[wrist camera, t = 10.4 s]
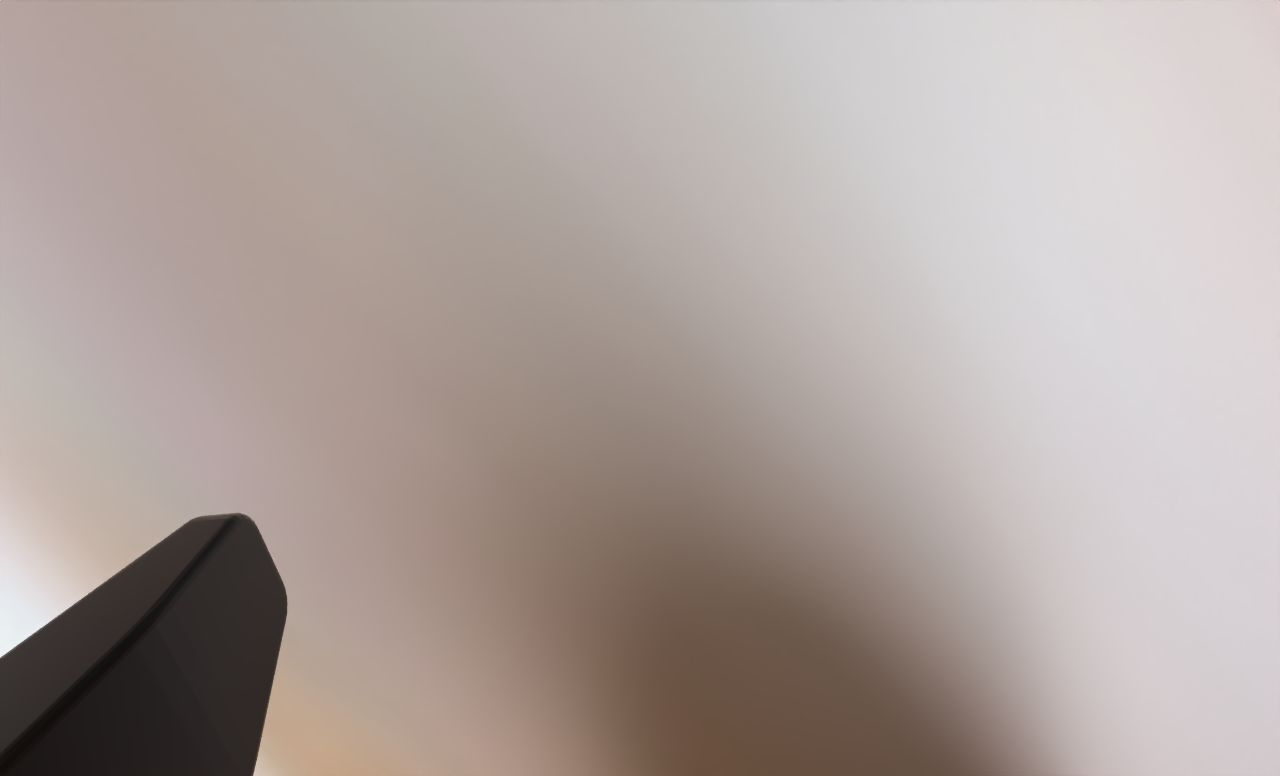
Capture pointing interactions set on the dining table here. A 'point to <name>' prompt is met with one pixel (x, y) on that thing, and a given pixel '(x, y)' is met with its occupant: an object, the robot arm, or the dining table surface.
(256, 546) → the robot arm
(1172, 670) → the dining table surface
